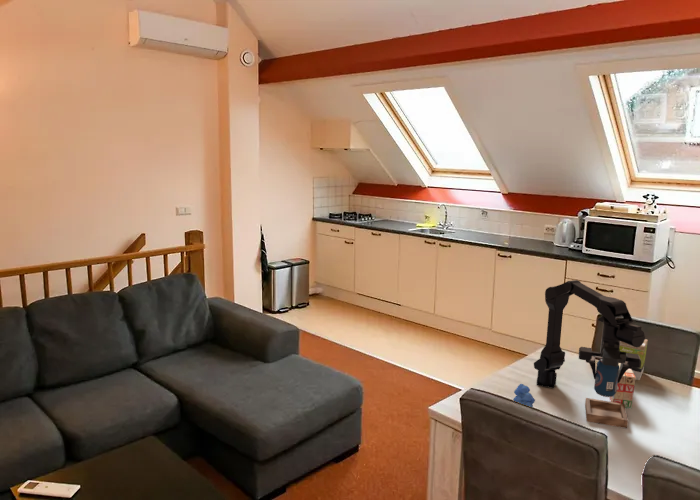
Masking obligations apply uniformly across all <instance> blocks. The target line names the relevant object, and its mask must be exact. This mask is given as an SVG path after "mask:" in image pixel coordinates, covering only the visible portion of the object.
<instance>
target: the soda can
mask: <svg viewBox="0 0 700 500" xmlns="http://www.w3.org/2000/svg"><path fill="white" fill-rule="evenodd" d="M598 359H599V360H597V363H596V367H595V368H596V379H594V387H593V389H594V391H595V393H596V394H597V395H598V396H601V397H605V398H610V397H613V396H614V395H615V394H616V392H617V384H618V375H619V365H618V366H617V367H614V366H611V365H604V364H603V363H602V358H598Z"/></svg>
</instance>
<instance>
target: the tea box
mask: <svg viewBox="0 0 700 500" xmlns="http://www.w3.org/2000/svg"><path fill="white" fill-rule="evenodd" d="M648 342H649V340H648V339H646V338H645V340H644V342H643V344H642V345H641V346H640V347H633V346H631V345H628V344H626V343H623V342H621V341H620V348H619V349H620V351H621V352H626V354H627V353H632V354H638V355H639V356H640V359H641V367H640V368H636V367H633V368H632V369H631V370H632V371H633V373H634V375H635V377H636V378H635V381H636V380H637V381H641V378H642V375H643V373H644V368H645V362H646V356H647V351H648V350H647V349H648Z"/></svg>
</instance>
